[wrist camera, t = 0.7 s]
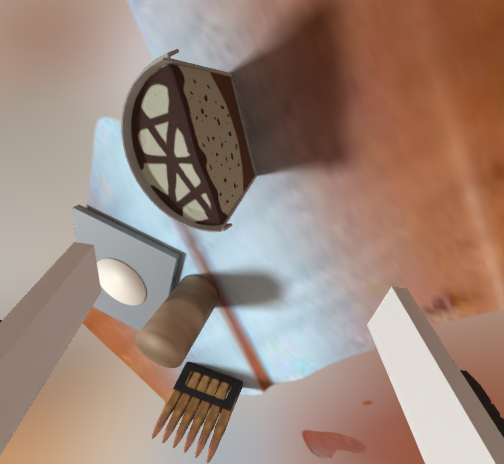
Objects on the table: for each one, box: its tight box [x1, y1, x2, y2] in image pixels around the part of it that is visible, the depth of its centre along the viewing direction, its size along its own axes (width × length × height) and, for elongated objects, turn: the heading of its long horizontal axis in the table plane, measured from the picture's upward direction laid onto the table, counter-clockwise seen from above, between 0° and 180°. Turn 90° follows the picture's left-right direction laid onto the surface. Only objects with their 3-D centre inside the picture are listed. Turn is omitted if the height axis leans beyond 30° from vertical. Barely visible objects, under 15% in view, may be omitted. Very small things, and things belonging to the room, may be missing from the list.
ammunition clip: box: [152, 362, 243, 463], centre depth 44 cm, size 11×2×12 cm, turn 88°
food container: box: [121, 49, 257, 232], centre depth 23 cm, size 12×6×10 cm, turn 16°
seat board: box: [73, 205, 180, 331], centre depth 43 cm, size 20×16×1 cm
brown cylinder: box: [136, 275, 219, 368], centre depth 36 cm, size 6×6×10 cm
